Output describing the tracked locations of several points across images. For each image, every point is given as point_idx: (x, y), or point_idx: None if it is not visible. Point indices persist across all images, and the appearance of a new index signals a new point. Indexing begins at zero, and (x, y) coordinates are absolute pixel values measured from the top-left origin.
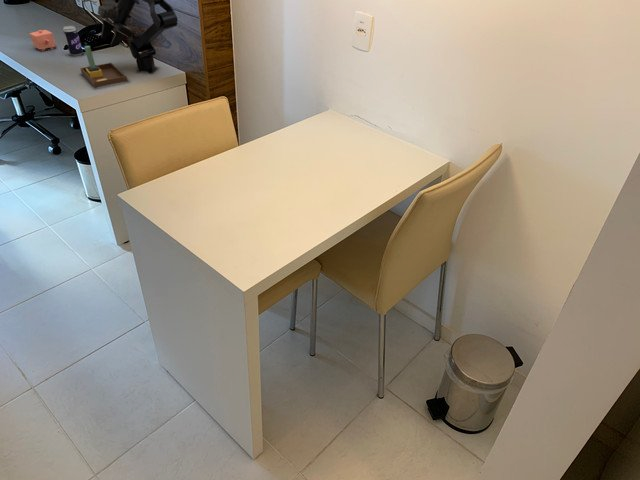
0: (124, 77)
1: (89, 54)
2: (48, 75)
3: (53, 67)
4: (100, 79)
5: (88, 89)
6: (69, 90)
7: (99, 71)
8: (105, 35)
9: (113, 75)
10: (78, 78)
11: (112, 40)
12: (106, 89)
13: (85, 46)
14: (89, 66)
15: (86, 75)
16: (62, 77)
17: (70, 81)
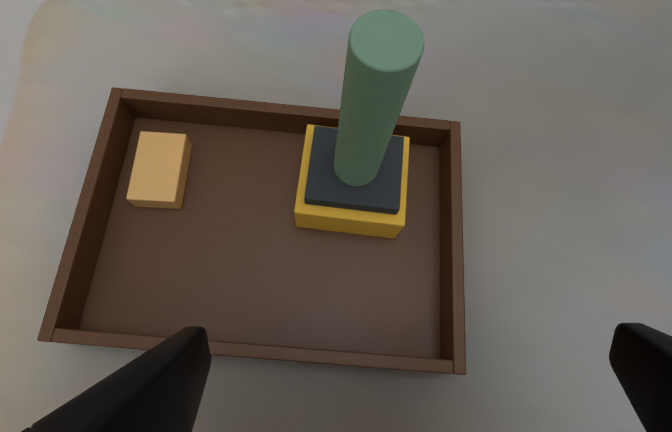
0: (48, 320)
1: (342, 90)
2: (532, 3)
3: (660, 63)
4: (178, 161)
5: (159, 80)
6: (225, 4)
7: (296, 198)
8: (666, 428)
9: (255, 296)
10: None
11: (122, 386)
12: (68, 160)
13: (404, 25)
14: (396, 154)
15: (303, 109)
16: (457, 44)
17: None
